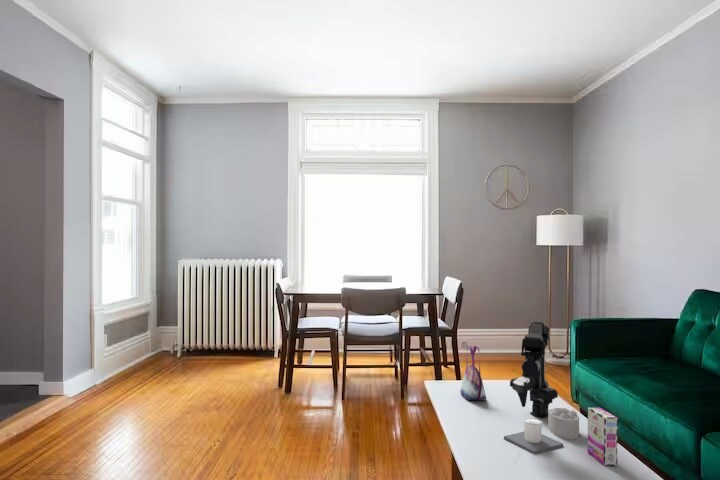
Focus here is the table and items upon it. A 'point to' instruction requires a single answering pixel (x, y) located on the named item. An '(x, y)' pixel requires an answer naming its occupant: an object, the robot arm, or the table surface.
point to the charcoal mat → (534, 448)
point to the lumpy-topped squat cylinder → (563, 423)
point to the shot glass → (532, 430)
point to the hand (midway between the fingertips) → (532, 410)
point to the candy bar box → (602, 436)
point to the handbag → (472, 380)
